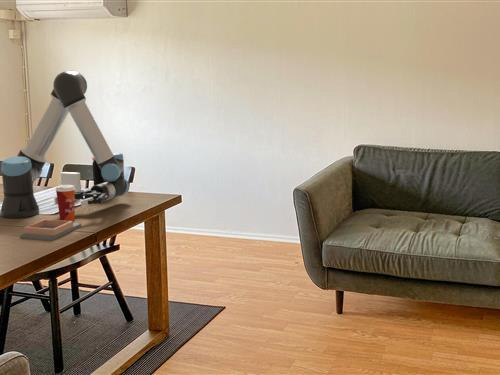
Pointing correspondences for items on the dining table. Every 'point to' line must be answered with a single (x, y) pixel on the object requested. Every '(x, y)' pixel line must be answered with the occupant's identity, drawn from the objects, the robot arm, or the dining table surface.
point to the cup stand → (49, 229)
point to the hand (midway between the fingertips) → (68, 202)
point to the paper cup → (66, 202)
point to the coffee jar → (97, 173)
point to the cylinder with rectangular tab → (71, 180)
